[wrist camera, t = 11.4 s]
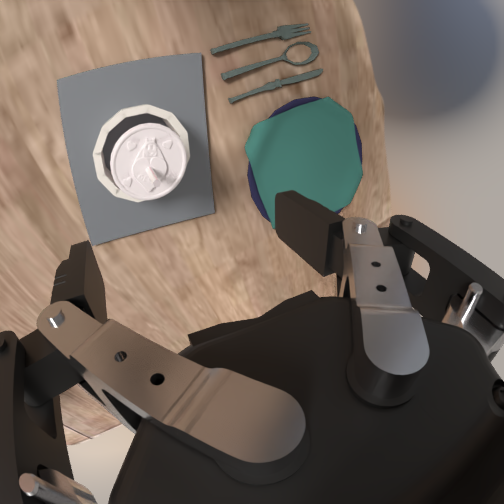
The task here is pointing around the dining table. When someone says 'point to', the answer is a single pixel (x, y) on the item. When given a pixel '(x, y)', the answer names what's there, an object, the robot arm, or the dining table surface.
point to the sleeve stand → (121, 120)
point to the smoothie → (148, 161)
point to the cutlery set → (300, 141)
